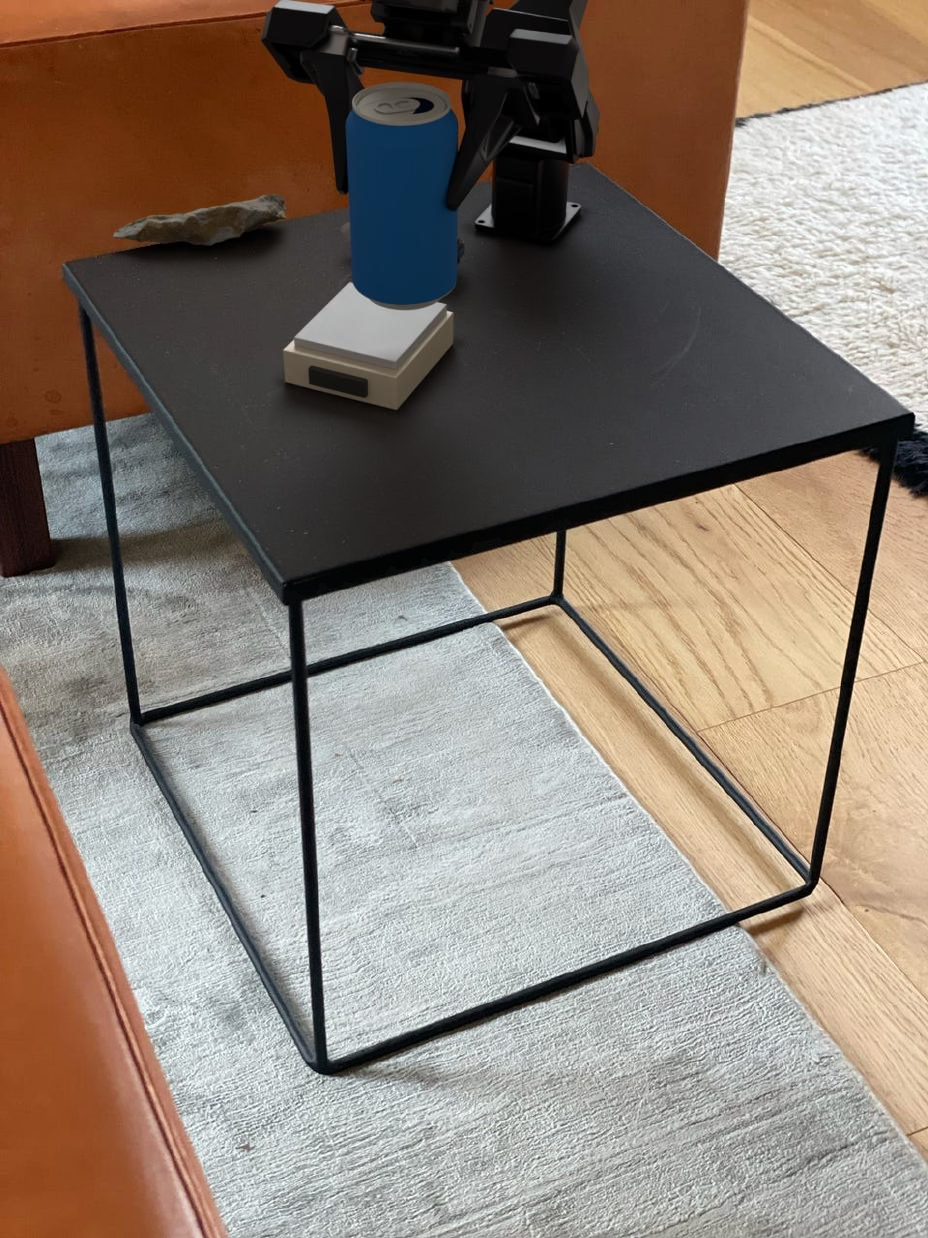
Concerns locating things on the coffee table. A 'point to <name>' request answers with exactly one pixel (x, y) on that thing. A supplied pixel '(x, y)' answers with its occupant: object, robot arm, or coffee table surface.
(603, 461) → the coffee table surface
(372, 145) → the beverage can
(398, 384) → the kitchen scale
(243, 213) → the stone
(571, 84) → the robot arm
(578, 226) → the coffee table surface
